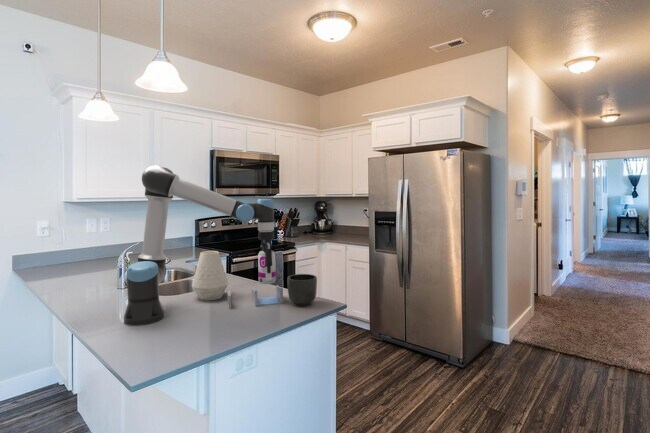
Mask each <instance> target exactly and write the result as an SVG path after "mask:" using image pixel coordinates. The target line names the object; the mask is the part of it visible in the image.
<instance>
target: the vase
mask: <svg viewBox="0 0 650 433" xmlns="http://www.w3.org/2000/svg"><path fill="white" fill-rule="evenodd" d="M223 264H224V263H223V261H222V258H221V256H220V252H219V251H218V250H208V251H207V250H204V251H201V252H200V253H199V257H198V262H197V265H196V270H195V272H194V277H193V281H192V284H191V288H192V289H193V291H194V292H195V294H196V296H197V297H198V299H199V300H200V299H201V301H208V302H209V301H215V300H216V301H217V300H220V299H222V298H223V296H224V293H225V292H226V291H227V288H228V286H229V281H228V278H227V273H226V271H225V268H224V265H223Z"/></svg>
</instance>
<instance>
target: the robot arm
mask: <svg viewBox="0 0 650 433" xmlns="http://www.w3.org/2000/svg"><path fill="white" fill-rule="evenodd" d="M141 183H142V185H143V187H144V188H145V189H144V190H145V191H144V197H145V198H146V199H147V207H146V216H145V223H144V225H145V227H144V232H143V233H144V234H143V235H144V236H143V243H142V250H141V251H142V252H141V253H140V254H139V255H138V256H137V262H134V263H131V264H129V266H128V267H127V268H126V281H127V282H126V283H127V287H126V288H127V306H126V308H125V312H124V316H123V323H124V324H125V325H127V326H142V325H143V326H144V325H149V324H154V323H156V322H159V321H161V320H163V319H164V318H165V311H164V308H163V306H162V303H161V301H160V292H159V290H160V287H159V286H160V283H162V282H163V281H164V280H165V277H166V275H167V266H166V264H167V262H166V261H167V257H166V256H165V254H164V248H165V240H166V230H167V222H168V221H167V220H168V214H169V213H168V212H169V203H170V202H171V201H172V200H173V199H174V197H177V198H179V199H182V200H185V201H188V202H191V203H193V204H196V205H198V206H201V207H203V208H207V209H209V210H213V211H215V212H217V213H220V214H223V215H226V216H229V217H231V218H232V219H233V220H239V221H240V222H244V223H246V222H247V223H248V222H249V221H250V222H251V220H257V230H258V233H257V234H258V235H257V238H258V240H260V241H261V251H264V253H265V256H266V265H264V266H265V269H266V280H272V270H271V266H272V251H273V250H272V243H271V240H274V239H275V231H274V230H275V226H276V224H275V215H274V214H275V212H274V210H275V209H274V208H275V207H274V200H273V199H272V198H258V199H257V202H255V203H253V202H252V203H249V202H248V203H245V202H242V201H240V200H237V199H234V198H231V197H229V196H227V195H223V194H221V193H219V192H216V191H213V190H210V189H208V188H205V187H202V186H200V185H197V184H195V183H191V182H189V181H187V180H184V179H181V178H180V177H179V175H178V174H175V173H174V172H173V171H172V170H171V169H170V168H167V167H164V166H161V165H150V166H149V167H147V168H145V170H144V171H143V172H142V173H141Z"/></svg>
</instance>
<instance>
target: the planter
mask: <svg viewBox="0 0 650 433" xmlns="http://www.w3.org/2000/svg"><path fill="white" fill-rule="evenodd" d="M286 280H287V281H286V282H287V295H288V298H289V301H290V302H291V303H293V305H294V306H296V307H308V306H310V305H311V304H312V303H313V302H314V301H315V299H316V297H317V288H318V277H317V276H316V275H315V274H309V273H297V274H291V275H288V277H287V279H286Z"/></svg>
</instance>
